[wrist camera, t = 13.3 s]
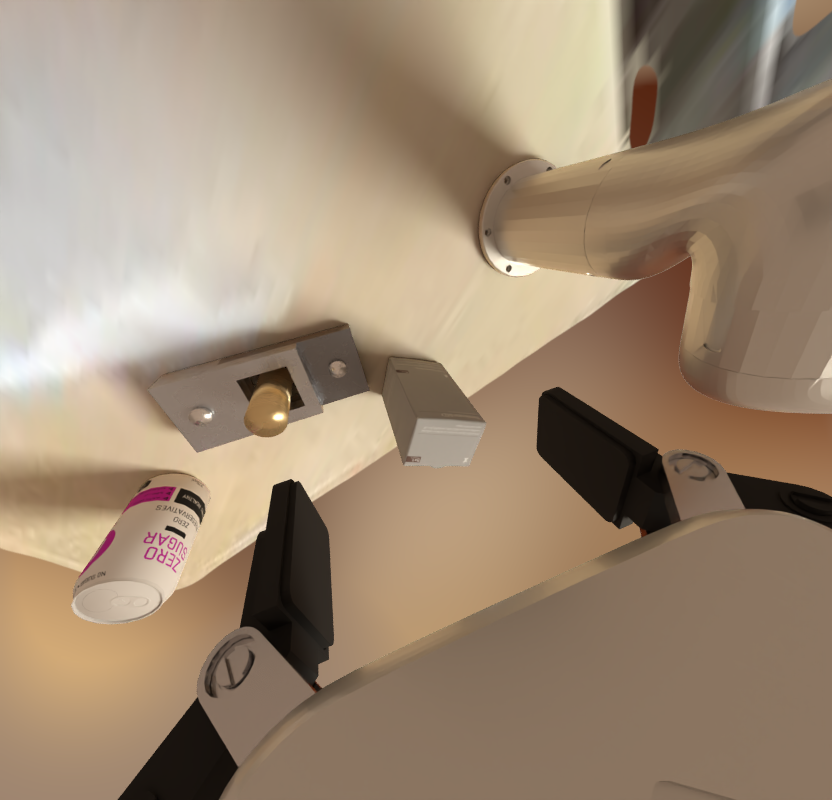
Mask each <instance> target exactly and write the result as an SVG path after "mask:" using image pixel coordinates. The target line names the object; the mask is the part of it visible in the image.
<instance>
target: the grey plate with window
mask: <svg viewBox="0 0 832 800" xmlns="http://www.w3.org/2000/svg"><path fill="white" fill-rule="evenodd" d="M286 366H287V368H288V370H289V373H290V375H291V377H292V379H293V381H294V383H295V385H296V387H297V389H298V392H299V394H296V395H293V396H291V401H290V409H289V416H288V423H287V424H289V423H292V422H295V421H298V420H302V419H305V418H308V417H311V416H314V415H317V414H320V413H323V405H325V404H328V403H331V402H334V401H337V400H341V399H344V398H347V397H350V396H353V395H356V394H360V393H363V392H366V391H369V387H368V384H367V381H366V378H365V375H364V371H363V368H362V365H361V362H360V359H359V356H358V353H357V349H356V346H355V343H354V340H353V337H352V334H351V331H350V328H349V325H348V324H346V325H342V326H339V327H335V328H331V329H328V330H324V331H320V332H317V333H313V334H309V335H306V336H302V337H299V338H295V339H291V340H288V341H284V342H280V343H277V344H273V345H269V346H266V347H262V348H258V349H255V350H251V351H248V352H244V353H240V354H237V355H233V356H229V357H226V358H222V359H218V360H215V361H211V362H207V363H204V364H200V365H197V366H193V367H189V368H186V369H182V370H178V371H175V372H171V373H167V374H164V375H162V376H161V377H160V378H159V379H158V380H157V381H156V382H155V383H154V384H153V385H152V386H151V387H150V388H149V389H147V391H148V392H149V393H150V394H151V396H152V397H153V398H154V399H155V401H156V402H157V403H158V404H159V406H160V407H161V408H162V409H163V411H164V412H165V413H166V414H167V416H168V417H169V418H170V419H171V421H172V422H173V423H174V424H175V426H176V427H177V428H178V429H179V431H180V432H181V433H182V434H183V436H184V437H185V438H186V439H187V441H188V442H189V443H190V445H191V446H192V447H193V448H194V450H195V451H196V452H197V453H198V452H201V451H204V450H207V449H210V448H213V447H217V446H220V445H223V444H226V443H229V442H232V441H235V440H239V439H242V438H245V437H248V436H251V435H254V434H253V433H251V432H250V431H249V430H248V429H247V428H246V426H245V424H244V416H245V413H246V411H247V408H248V405H249V403H250V400H251V397H252V394H253V392H254V389H255V387H254V385H253V383H252V382H251V380H250V378H249V377H251V376H254V375H258V374H261V373H265V372H268V371H272V370H275V369H279V368H282V367H286Z"/></svg>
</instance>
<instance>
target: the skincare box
mask: <svg viewBox="0 0 832 800" xmlns="http://www.w3.org/2000/svg"><path fill="white" fill-rule="evenodd" d="M382 397H383V401H384V404H385V407H386V410H387V413H388V417H389V420H390V423H391V426H392V429H393V433H394V436H395V439H396V442H397V446H398V449H399V452H400V456H401V459H402V462H403V465H404V466H411V465H412V466H424V465H425V466H431V467H433V468H441V467H444V466H469V465H470V462H471V460H472V457H473V455H474V452H475V450H476V447H477V445H478V443H479V440H480V438H481V436H482V434H483V431H484V429H485V426H486V422H485V421H484V420H483V418H482V417H481V416H480V414H479V413H478V412H477V411H476V409H475V408H474V407H473V405H472V404H471V403H470V401H469V400H468V399H467V397H466V396H465V395H464V393H463V392H462V391H461V389H460V388H459V387H458V385H457V384H456V383H455V381H454V380H453V379H452V378H451V376H450V375H449V374H448V372H447V371H446V370H445V368H444V367H443V366H442V364H441V363H436V362H430V361H423V360H416V359H407V358H395V357H391V358H389V361H388V366H387V371H386V376H385V381H384V386H383V391H382Z"/></svg>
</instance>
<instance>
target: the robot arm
mask: <svg viewBox="0 0 832 800" xmlns="http://www.w3.org/2000/svg"><path fill="white" fill-rule="evenodd" d="M504 180H505V183H504ZM485 231H486V234H485ZM479 239H480V245H481V249H482V251H483V254H484V256H485V258H486V260H487V261H488V263H489V264H490V265H491V266H492V267H493V268H494V269H495V270H496V271H498V272H500V273H501V274H504V275H507V276H513V277H523V276H526V275H530V274H532V273H534V272H536V271H538V270H539V269H541V268H545V269H552V270H558V271H564V272H571V273H577V274H584V275H590V276H597V277H604V278H610V279H617V280H638V279H643V278H647V277H651V276H654V275H656V274H658V273H661V272H663V271H665V270H667V269H669V268H671V267H673V266H674V265H676V264H678V263H679V262H681V261H683V260H684V259H686V258H687V257H689V256H691V258H692V273H691V280H690V288H691V289H690V294H689V300H688V305H687V310H686V316H685V321H684V326H683V332H682V337H681V342H680V349H679V366H680V371H681V373H682V376H683V377H684V379H685V380H686V382H687V383H688V384H689V385H690V386H691V387H692V388H693V389H695V390H696V391H698V392H699V393H701V394H703V395H705V396H707V397H709V398H712V399H714V400H717V401H720V402H723V403H726V404H730V405H734V406H739V407H744V408H750V409H757V410H765V411H776V412H791V413H821V414H823V413H824V414H825V413H826V414H832V79H830V80H827V81H825V82H822V83H820V84H817V85H815V86H813V87H810V88H808V89H805V90H803V91H801V92H798V93H796V94H793V95H791V96H789V97H786V98H784V99H781V100H779V101H777V102H774V103H772V104H769V105H767V106H764V107H762V108H759V109H757V110H754V111H751V112H749V113H746V114H743V115H741V116H738V117H735V118H733V119H730V120H727V121H724V122H721V123H718V124H715V125H712V126H709V127H706V128H703V129H700V130H697V131H694V132H690V133H687V134H683V135H680V136H677V137H673V138H670V139H666V140H662V141H659V142H655V143H651V144H648V145H644V146H640V147H636V148H633V149H629V150H625V151H621V152H618V153H614V154H610V155H606V156H602V157H599V158H595V159H591V160H587V161H584V162H580V163H576V164H572V165H569V166H565V167H561V168H556V167H555V166H554V165H553V164H551V163H549V162H548V161H545V160H541V159H528V160H525V161H522V162H519V163H517V164H515V165H513V166H511V167H509V168H508V169H507V170H505V171H504V172H503V173H502V174H501V175H500V176H499V177H498V178H497V179H496V180H495V182H494V183H493V185H492V186H491V188H490V190H489V191H488V193H487V195H486V198H485V200H484V202H483V206H482V209H481V213H480V220H479ZM537 432H538V433H537V451H538V453H539V455H540V456H541V457H542V458H543V459H544V460H545V461H546V462H547V463H548V464H549V465H550V466H551V467H552V468H553V469H554V470H555V471H556V472H557V473H558V474H559V475H560V476H561V477H562V478H563V479H564V480H565V481H566V482H567V483H568V484H569V485H570V486H571V487H572V488H573V489H574V490H576V492H577V493H578V494H579V495H581V496H582V498H583V499H584V500H585V501H586V502H588V503H589V504H590V505H591V506H592V507H593V508H594V509H595V510H596V511H597V512H598V513H599V514H600V515H601V516H602V517H603V518H604V519H605V520H606V521H608V522H612V523H613V524H614V525H615V526H616V527H617V528H619V529H621V528H623V527H626V526H628V525H630V524H632V523H633V522H634V523H635V524H636V525H637V526H639V528H640V533H641V538H639V539H637V540H635V541H632V542H630V543H628V544H626V545H623V546H621V547H619V548H617V549H615V550H612V551H610V552H608V553H606V554H604V555H601V556H599V557H597V558H595V559H593V560H590V561H588V562H586V563H584V564H582V565H579V566H577V567H575V568H573V569H570V570H568V571H566V572H564V573H562V574H559V575H557V576H555V577H553V578H551V579H549V580H546V581H545V582H542V583H540V584H538V585H536V586H533V587H531V588H529V589H527V590H525V591H523V592H520V593H518V594H516V595H514V596H511V597H509V598H507V599H505V600H503V601H501V602H498V603H497V604H494V605H492V606H490V607H488V608H486V609H483V610H481V611H479V612H477V613H475V614H472V615H471V616H468V617H466V618H464V619H462V620H460V621H457V622H455V623H453V624H451V625H449V626H447V627H445V628H442V629H440V630H438V631H436V632H434V633H432V634H429V635H427V636H425V637H423V638H421V639H419V640H417V641H415V642H412V643H410V644H408V645H406V646H404V647H402V648H400V649H398V650H396V651H394V652H392V653H389V654H388V655H385V656H384V657H381V658H379V659H377V660H375V661H373V662H371V663H369V664H367V665H365V666H363V667H361V668H359V669H357V670H355V671H353V672H351V673H349V674H347V675H346V676H344V677H342V678H340V679H338V680H336V681H335V682H333V683H331V684H329V685H327V686H326V687H324V688H322V687H321V686H320V685H319V684H318V683H317V682H316V681H315V680H316V679H317V677H318V664H320V663H322V662H324V661H326V660H329V648H328V647H329V646H332V645H333V642H334V632H333V610H332V589H331V568H330V548H329V534H328V530H327V528H326V526H325V524H324V522H323V521H322V519H321V517H320V515H319V514H318V512H317V510H316V508H315V507H314V505H313V503H312V502H311V500H310V498H309V497H308V495H307V493H306V491H305V490H304V488H303V486H302V485H301V483H300V482H299V481H297V482H294V481H293V480H292V479H290V480H287V481H284V482H281V483H278V484H276V485H274V486H273V489H272V495H271V501H270V507H269V513H268V519H267V526H266V530H265V531H262V532H260V533H259V534H258V536H257V540H256V545H255V550H254V555H253V561H252V566H251V571H250V577H249V582H248V587H247V592H246V598H245V603H244V609H243V614H242V619H241V625H240V628H239V629H236V630H234V631H233V632H231V633H230V634H228V635H227V636H225V637H224V638H223V639H222V640H221V641H220V642H219V643H218V644H217V645H216V646H215V648H214V649H213V650H212V652H211V653H210V654H209V655H208V657H207V659H206V661H205V663H204V665H203V667H202V669H201V672H200V675H199V678H198V682H197V695H198V697H197V699H196V700H195V701H194V703H193V704H192V705H191V706H190V708H189V709H188V710H187V711H186V713H185V714H184V715H183V717H182V718H181V719H180V720H179V722H178V723H177V724H176V726H175V727H174V728H173V729H172V731H171V732H170V733H169V735H168V736H167V737H166V738H165V740H164V741H163V742H162V744H161V745H160V746H159V747H158V749H157V750H156V751H155V753H154V754H153V755H152V757H151V758H150V759H149V760H148V762H147V763H146V764H145V765H144V767H143V768H142V769H141V771H140V772H139V773H138V774H137V776H136V777H135V778H134V780H133V781H132V782H131V784H130V785H129V786H128V787H127V788H126V790H125V791H124V793H123V794H122V795H121V796H120V797H119V799H118V800H832V497H831V496H829V495H827V494H825V493H823V492H820V491H817V490H814V489H812V488H809V487H805V486H800V485H796V484H789V483H784V482H778V481H772V480H766V479H760V478H755V477H749V476H743V475H737V474H732V473H726V471H725V470H724V468H723V467H722V466H721V465H720V464H719V463H718V462H716V461H715V460H714V459H712V458H710V457H708V456H706V455H704V454H701V453H698V452H695V451H689V450H672V451H669V452H667V453H665V454H664V455H663V456H661V455H660V454H658V449H657V448H656V447H654V446H652V445H651V444H649V443H648V442H646V441H644V440H643V439H641V438H640V437H638V436H636V435H635V434H633V433H632V432H630V431H628V430H627V429H625V428H624V427H622V426H620V425H619V424H617V423H616V422H614V421H612V420H611V419H609V418H608V417H606V416H605V415H603V414H601V413H600V412H598V411H597V410H595V409H593V408H592V407H590V406H589V405H587V404H586V403H584V402H582V401H581V400H579V399H577V398H576V397H574V396H573V395H571V394H569V393H568V392H566V391H565V390H563V389H562V388H559V387H556V388H553V389H550V390H547V391H544V392H543V393H542V396H541V397H540V398H539V410H538V429H537Z"/></svg>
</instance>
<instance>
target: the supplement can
mask: <svg viewBox="0 0 832 800" xmlns="http://www.w3.org/2000/svg"><path fill="white" fill-rule="evenodd" d="M209 501H210V491H209V489H208V488H207V486H206V485H205V484H204V483H203V482H201V481H200V480H198V479H197V478H195V477H192V476H189V475H186V474H177V473H174V474H173V473H172V474H164V475H159V476H156V477H154V478H151V479H149V480H147V481H146V482H145V483H144V484H143V485H142V486H141V487H140V488H139V490H138V491H137V493H136V494H135V496H134V497H133V498H132V500H131V501H130V503H129V504H128V506H127V507H126V509H125V510H124V512H123V513H122V515H121V516H120V518H119V519H118V520H117V522H116V523H115V525H114V526H113V528H112V529H111V531H110V532H109V534H108V535H107V537H106V538H105V540H104V541H103V542H102V544H101V545H100V547H99V548H98V550H97V551H96V553H95V554H94V556H93V557H92V559H91V560H90V562H89V563H88V564H87V566H86V567H85V569H84V570H83V572H82V573H81V575H80V576H79V578H78V579H77V581H76V583H75V586H74V589H73V603H72V605H71V607H72V609H73V611H74V614H76V615H77V616H79V617H80V618H82V619H84V620H87V621H91V622H94V623H102V624H120V623H128V622H132V621H136V620H140V619H143V618H145V617H147V616H149V615H152V614H153V613H154V612H156V611H157V610H158V609H159V608H160V607H161V605H162V604H163V603H164V602H165V601H166V600H167V599H168V598H169V597H170V596H171V595H172V594H173V591H174V590H175V588H176V586H177V584H178V581H179V579H180V576H181V573H182V571H183V568H184V566H185V563H186V560H187V558H188V555H189V553H190V550H191V548H192V545H193V542H194V540H195V537H196V535H197V532H198V530H199V527H200V524H201V522H202V519H203V517H204V514H205V512H206V509H207V506H208V504H209Z"/></svg>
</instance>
